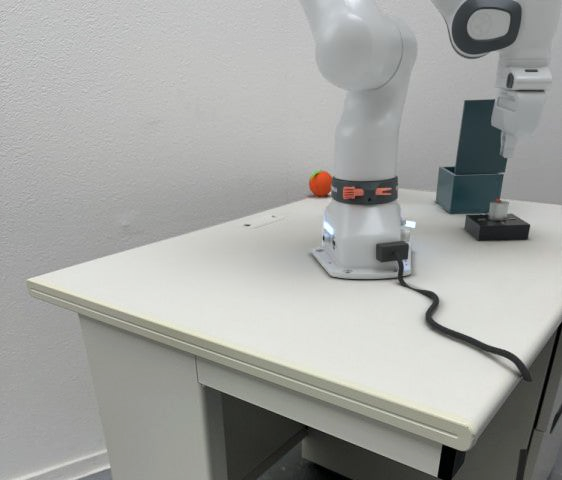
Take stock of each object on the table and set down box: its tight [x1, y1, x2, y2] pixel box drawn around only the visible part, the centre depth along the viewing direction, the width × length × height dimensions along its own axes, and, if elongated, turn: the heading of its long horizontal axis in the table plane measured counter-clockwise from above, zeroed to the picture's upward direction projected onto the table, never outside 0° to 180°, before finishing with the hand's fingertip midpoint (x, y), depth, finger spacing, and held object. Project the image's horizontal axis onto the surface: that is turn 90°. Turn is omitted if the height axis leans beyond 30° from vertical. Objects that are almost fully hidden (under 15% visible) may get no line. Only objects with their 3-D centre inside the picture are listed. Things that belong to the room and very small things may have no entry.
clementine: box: [308, 169, 333, 197], centre depth 154 cm, size 8×7×7 cm
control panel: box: [463, 213, 531, 242], centre depth 114 cm, size 10×10×3 cm
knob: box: [488, 198, 510, 221], centre depth 112 cm, size 4×4×4 cm
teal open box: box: [435, 165, 505, 215], centre depth 136 cm, size 15×12×9 cm
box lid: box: [454, 98, 509, 174], centre depth 123 cm, size 16×12×1 cm
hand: (505, 156), depth 108 cm, fingers closed
